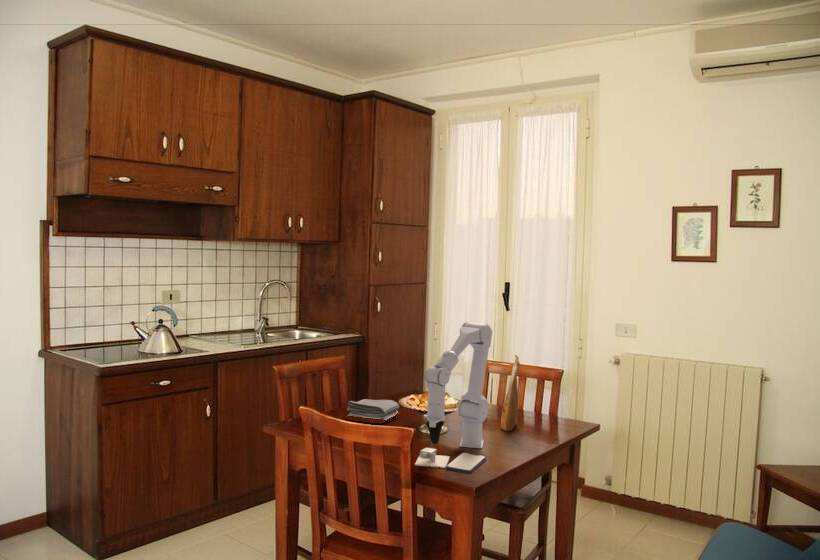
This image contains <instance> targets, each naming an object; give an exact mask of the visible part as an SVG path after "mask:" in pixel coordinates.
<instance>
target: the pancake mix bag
mask: <svg viewBox="0 0 820 560" xmlns="http://www.w3.org/2000/svg"><path fill="white" fill-rule="evenodd" d="M514 357H515V358H514V361H513V366H512V368H511V374H510V381H509V384H508V388H507V391H506V394H505V399H504V402H503V405H502V411H501V419H500V428H501V430H504V431H505V432H509V431H510V430H511V431H512V430H514V429H515V426H516V422H517V417H518V407H519V405H518V403H519V402H518V401H519V399H518V398H519V396H518V392H519V391H518V378H517V374H518V372H519V369H520V365H521V362H520V361H519V358H520V357H519V356H518V355H517V354H516V355H514Z"/></svg>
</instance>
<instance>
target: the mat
mask: <svg viewBox="0 0 820 560" xmlns="http://www.w3.org/2000/svg"><path fill="white" fill-rule="evenodd" d="M450 458H451V456H448V455H440V454H439V455H438V454H436V455H435V462H431V458H429V457H424V456H420V455H418V457H417V459H416V460H415V461H416V462H415V463H414V466H419V467H429V466H430V468H431V467H432V468H439V467H440V469H446V466H447V465H448V464H449V461H450Z"/></svg>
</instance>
